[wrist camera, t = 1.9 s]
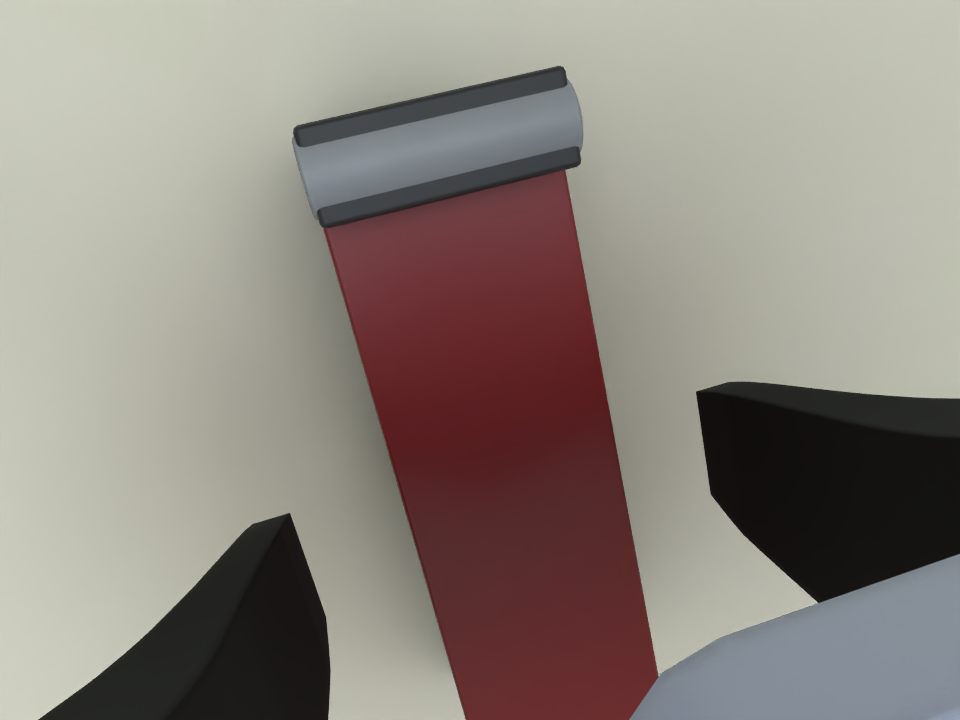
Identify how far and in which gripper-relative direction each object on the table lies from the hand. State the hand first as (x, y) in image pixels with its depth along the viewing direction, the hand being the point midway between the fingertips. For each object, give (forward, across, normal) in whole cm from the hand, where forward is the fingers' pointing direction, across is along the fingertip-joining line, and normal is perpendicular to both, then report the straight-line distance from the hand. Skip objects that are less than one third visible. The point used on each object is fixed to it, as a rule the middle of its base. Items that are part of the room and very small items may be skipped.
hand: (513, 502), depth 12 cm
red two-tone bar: (+4, 0, 0) cm, 4 cm away
